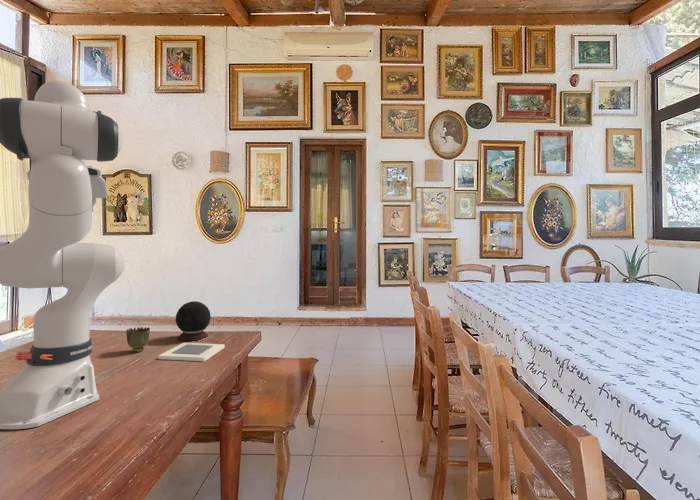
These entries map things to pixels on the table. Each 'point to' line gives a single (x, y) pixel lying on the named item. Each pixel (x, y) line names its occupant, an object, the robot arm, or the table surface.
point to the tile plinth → (192, 352)
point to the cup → (137, 338)
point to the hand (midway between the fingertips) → (73, 211)
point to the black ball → (193, 321)
